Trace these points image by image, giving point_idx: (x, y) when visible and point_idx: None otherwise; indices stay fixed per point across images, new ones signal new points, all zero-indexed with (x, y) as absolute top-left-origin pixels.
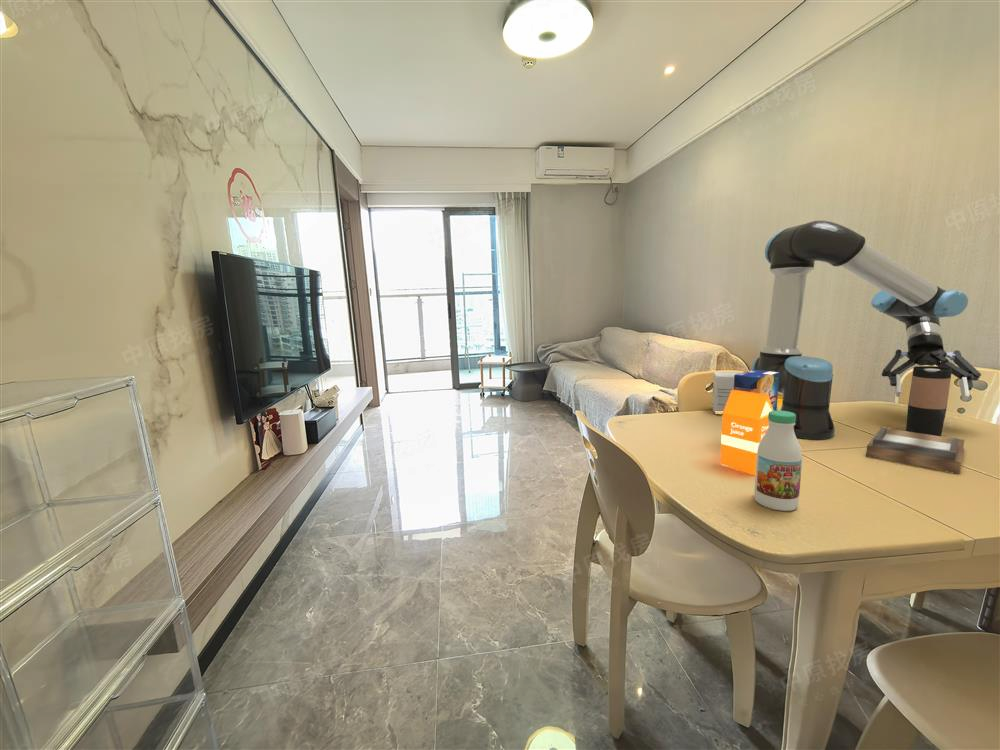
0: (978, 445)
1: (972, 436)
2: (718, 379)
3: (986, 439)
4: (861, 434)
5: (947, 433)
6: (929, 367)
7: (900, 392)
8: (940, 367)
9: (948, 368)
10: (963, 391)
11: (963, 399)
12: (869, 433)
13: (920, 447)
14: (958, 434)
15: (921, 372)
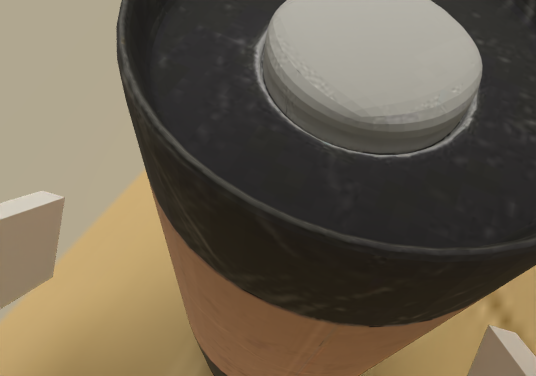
0: (154, 203)
1: (68, 332)
2: None
3: (48, 290)
4: (526, 282)
5: (146, 370)
6: (317, 234)
7: (489, 333)
8: (161, 123)
9: (133, 6)
10: (11, 246)
11: (54, 255)
12: (494, 304)
13: None
14: (106, 360)
15: (517, 10)
